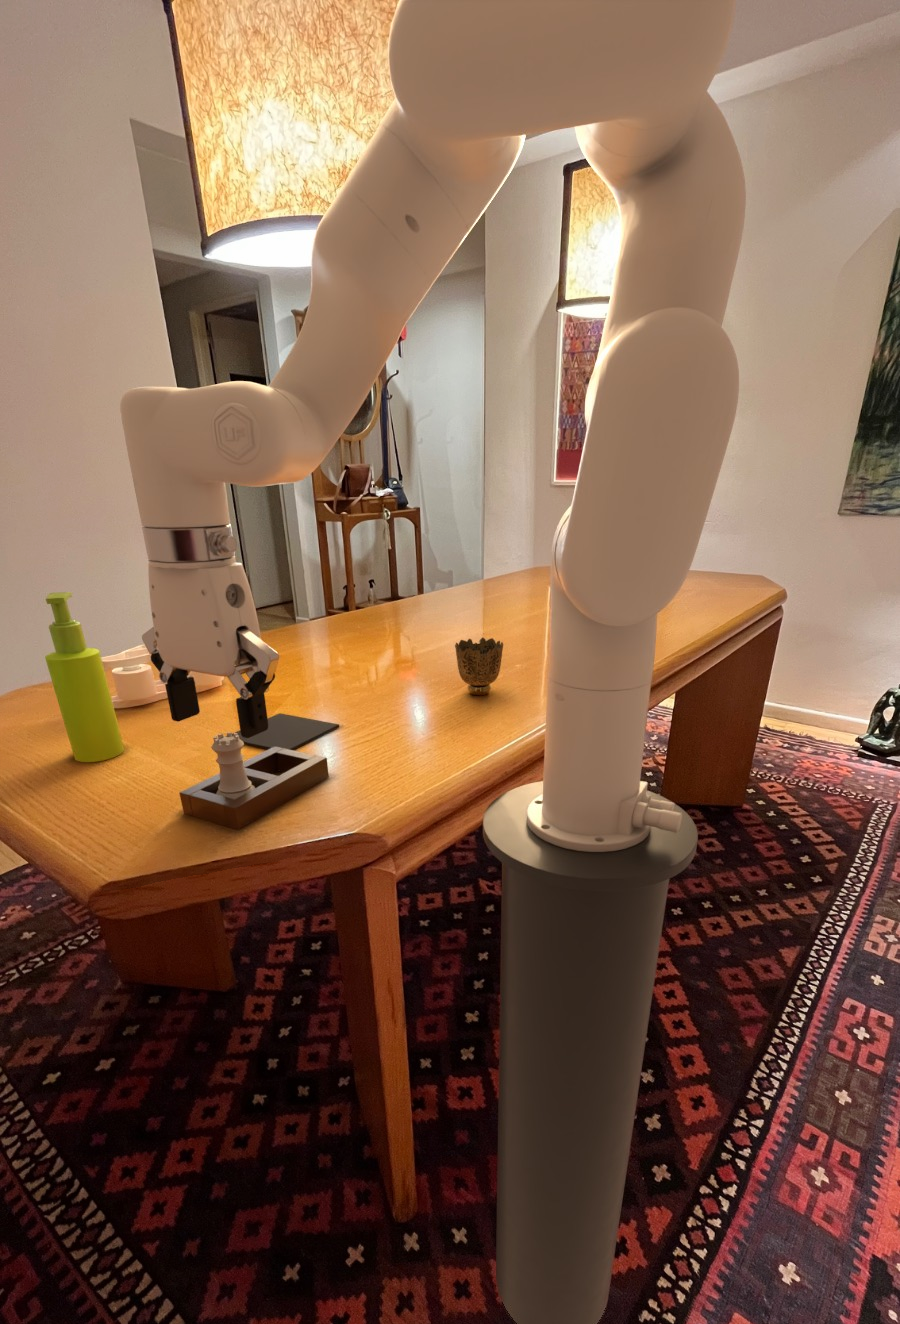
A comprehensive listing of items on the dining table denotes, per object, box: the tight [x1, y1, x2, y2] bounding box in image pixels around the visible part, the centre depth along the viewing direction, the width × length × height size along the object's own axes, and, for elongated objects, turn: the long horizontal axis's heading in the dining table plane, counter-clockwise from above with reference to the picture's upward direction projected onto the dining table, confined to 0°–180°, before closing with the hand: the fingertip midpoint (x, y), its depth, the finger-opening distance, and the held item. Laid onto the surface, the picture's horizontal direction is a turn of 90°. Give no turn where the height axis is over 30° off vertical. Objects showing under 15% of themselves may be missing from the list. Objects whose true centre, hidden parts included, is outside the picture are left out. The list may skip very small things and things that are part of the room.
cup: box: [454, 637, 504, 696], centre depth 105 cm, size 8×7×8 cm
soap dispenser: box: [44, 591, 125, 763], centre depth 83 cm, size 6×7×20 cm
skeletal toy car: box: [101, 643, 225, 709], centre depth 109 cm, size 20×11×7 cm, turn 131°
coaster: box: [225, 713, 340, 751], centre depth 92 cm, size 11×11×1 cm
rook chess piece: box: [210, 731, 255, 799], centre depth 71 cm, size 4×4×8 cm
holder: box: [179, 747, 330, 831], centre depth 75 cm, size 8×14×2 cm, turn 151°
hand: (219, 725), depth 69 cm, fingers open, 9 cm apart
